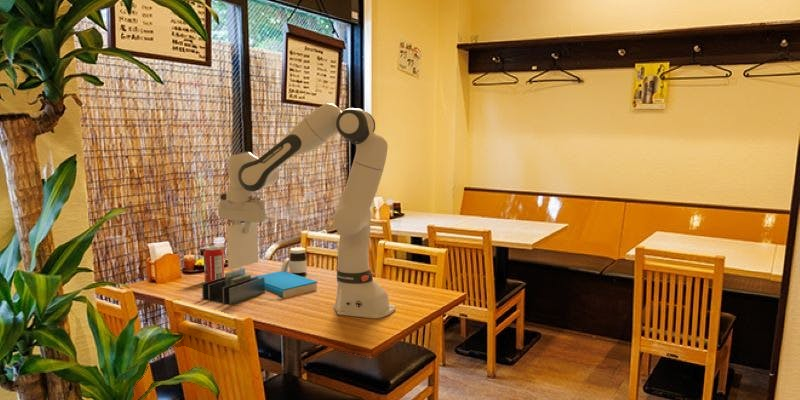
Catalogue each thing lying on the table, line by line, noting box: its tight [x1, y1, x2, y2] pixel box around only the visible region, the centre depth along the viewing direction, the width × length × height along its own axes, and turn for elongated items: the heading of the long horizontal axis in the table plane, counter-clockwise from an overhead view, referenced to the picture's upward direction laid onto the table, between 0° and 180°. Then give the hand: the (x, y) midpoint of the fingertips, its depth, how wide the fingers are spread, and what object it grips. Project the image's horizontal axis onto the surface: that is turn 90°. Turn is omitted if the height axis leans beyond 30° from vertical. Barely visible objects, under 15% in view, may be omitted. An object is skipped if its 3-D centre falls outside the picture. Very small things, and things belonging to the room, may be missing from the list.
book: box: [251, 270, 318, 299], centre depth 224 cm, size 17×4×25 cm
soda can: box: [203, 246, 225, 283], centre depth 230 cm, size 8×8×15 cm
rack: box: [201, 267, 266, 306], centre depth 208 cm, size 16×18×10 cm
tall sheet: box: [226, 222, 259, 271], centre depth 203 cm, size 2×14×16 cm, turn 152°
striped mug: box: [280, 246, 308, 277], centre depth 246 cm, size 12×11×12 cm
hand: (242, 232), depth 203 cm, fingers closed on tall sheet, 2 cm apart
